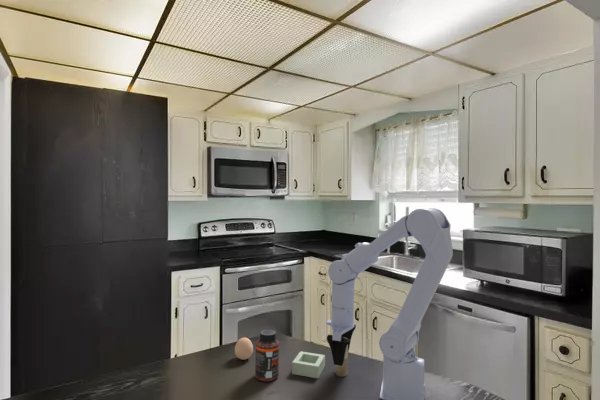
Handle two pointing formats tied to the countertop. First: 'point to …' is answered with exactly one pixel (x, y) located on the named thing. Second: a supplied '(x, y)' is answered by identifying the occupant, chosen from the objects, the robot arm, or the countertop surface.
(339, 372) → the beech peg
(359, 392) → the countertop surface
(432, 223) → the robot arm
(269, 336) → the supplement bottle
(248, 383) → the countertop surface
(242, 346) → the egg
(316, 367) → the hole block
